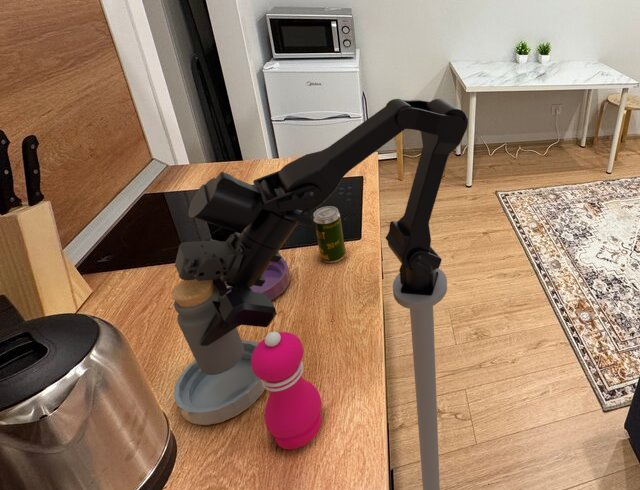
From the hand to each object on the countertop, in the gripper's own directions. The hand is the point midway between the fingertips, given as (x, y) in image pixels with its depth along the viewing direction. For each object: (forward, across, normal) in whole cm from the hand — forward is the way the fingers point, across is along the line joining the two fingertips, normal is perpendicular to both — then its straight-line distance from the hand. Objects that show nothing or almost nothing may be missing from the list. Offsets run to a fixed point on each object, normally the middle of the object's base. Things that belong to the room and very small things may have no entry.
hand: (197, 331), depth 60 cm
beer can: (-9, -19, +28) cm, 35 cm away
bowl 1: (+9, 0, +10) cm, 13 cm away
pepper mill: (+5, +14, +14) cm, 21 cm away
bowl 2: (+2, -20, +17) cm, 26 cm away
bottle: (+4, 0, +6) cm, 7 cm away
